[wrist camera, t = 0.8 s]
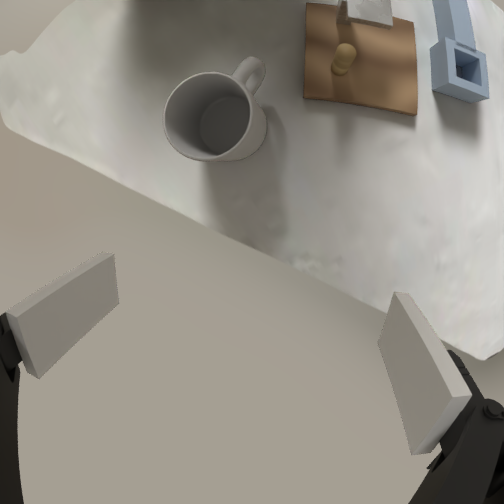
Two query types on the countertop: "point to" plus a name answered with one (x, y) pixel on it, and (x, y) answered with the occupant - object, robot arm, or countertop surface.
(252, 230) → the countertop surface
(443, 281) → the countertop surface
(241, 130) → the mug
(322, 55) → the board
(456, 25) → the link
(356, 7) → the block
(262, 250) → the countertop surface
